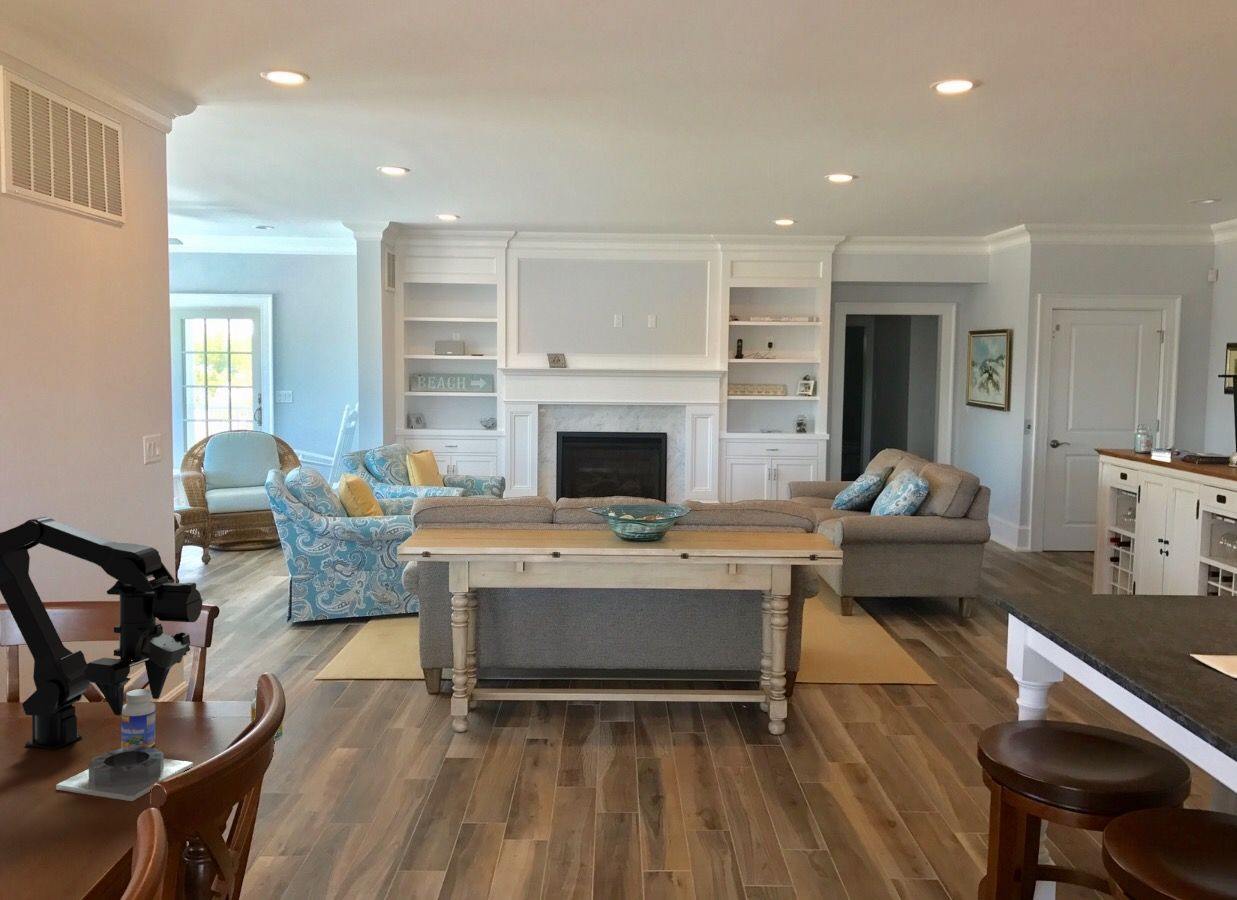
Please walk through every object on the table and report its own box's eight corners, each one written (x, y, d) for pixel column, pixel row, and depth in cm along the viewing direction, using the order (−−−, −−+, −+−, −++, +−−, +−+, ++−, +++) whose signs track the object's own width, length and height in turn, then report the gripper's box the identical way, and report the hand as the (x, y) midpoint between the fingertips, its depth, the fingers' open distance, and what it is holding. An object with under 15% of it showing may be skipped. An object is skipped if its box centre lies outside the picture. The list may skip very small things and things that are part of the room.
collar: (56, 789, 151) (56, 769, 151) (122, 757, 165) (122, 738, 164) (132, 801, 148) (132, 781, 148) (192, 767, 161) (192, 748, 161)
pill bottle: (114, 751, 167) (114, 696, 166) (131, 740, 173) (131, 686, 172) (145, 752, 167) (145, 697, 166) (161, 741, 172) (161, 688, 172)
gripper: (138, 636, 157) (138, 730, 158) (212, 612, 175) (211, 695, 176) (81, 630, 160) (81, 722, 161) (160, 606, 178) (159, 689, 179)
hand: (137, 706), depth 169 cm, fingers open, 9 cm apart
